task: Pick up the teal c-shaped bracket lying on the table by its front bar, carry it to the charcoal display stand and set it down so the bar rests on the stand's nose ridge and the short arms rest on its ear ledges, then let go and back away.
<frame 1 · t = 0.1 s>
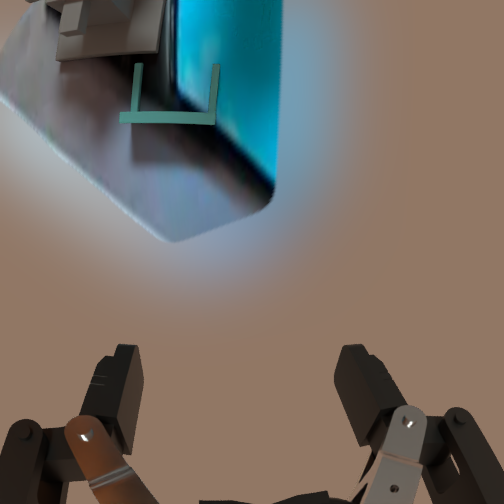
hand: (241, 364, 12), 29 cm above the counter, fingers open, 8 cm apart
teal c-shaped bracket: (172, 117, 34), on the counter
stand: (111, 19, 28), on the counter
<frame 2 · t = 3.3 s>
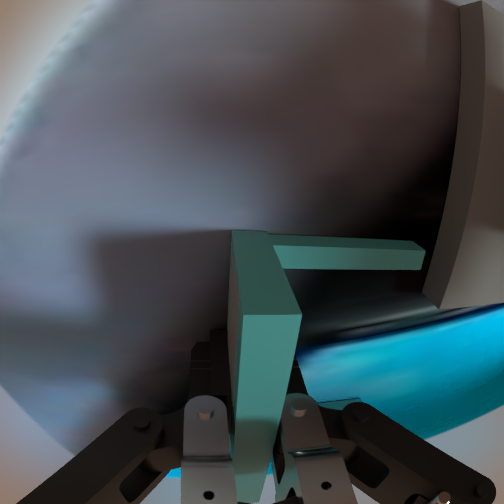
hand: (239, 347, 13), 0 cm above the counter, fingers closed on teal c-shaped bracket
teal c-shaped bracket: (240, 346, 13), on the counter, touching gripper
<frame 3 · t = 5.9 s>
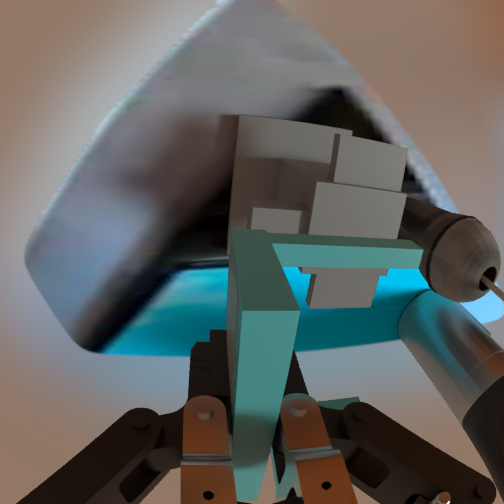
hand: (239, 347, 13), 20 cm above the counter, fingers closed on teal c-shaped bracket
teal c-shaped bracket: (239, 344, 13), point 19 cm above the counter, touching gripper
beverage cup: (393, 213, 33), on the counter
stand: (284, 187, 30), on the counter
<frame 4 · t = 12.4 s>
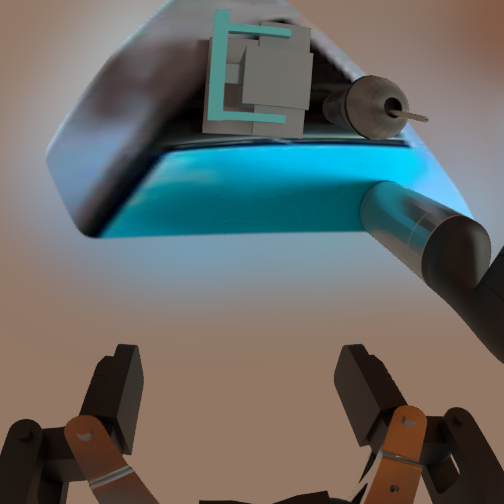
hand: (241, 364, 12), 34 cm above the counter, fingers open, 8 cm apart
teal c-shaped bracket: (218, 71, 27), point 11 cm above the counter, touching stand
beverage cup: (337, 108, 40), on the counter
stand: (244, 86, 38), on the counter
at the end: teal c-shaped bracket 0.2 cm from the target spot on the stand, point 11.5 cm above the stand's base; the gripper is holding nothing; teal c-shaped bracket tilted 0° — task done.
